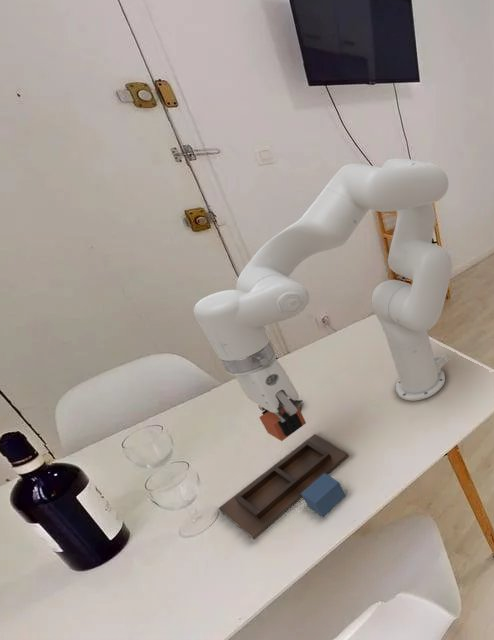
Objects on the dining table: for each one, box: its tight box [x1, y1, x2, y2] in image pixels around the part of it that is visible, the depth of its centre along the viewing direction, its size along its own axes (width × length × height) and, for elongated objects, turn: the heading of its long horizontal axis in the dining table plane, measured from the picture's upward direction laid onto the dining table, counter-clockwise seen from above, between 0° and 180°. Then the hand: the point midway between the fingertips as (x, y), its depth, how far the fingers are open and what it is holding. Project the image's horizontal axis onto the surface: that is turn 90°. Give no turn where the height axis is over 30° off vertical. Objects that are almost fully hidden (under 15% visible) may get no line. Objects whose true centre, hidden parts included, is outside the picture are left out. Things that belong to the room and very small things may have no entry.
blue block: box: [301, 473, 346, 518], centre depth 81 cm, size 5×5×4 cm
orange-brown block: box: [259, 404, 307, 442], centre depth 82 cm, size 5×5×4 cm
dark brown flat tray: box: [218, 433, 350, 540], centre depth 86 cm, size 20×12×2 cm, turn 152°
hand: (285, 425), depth 82 cm, fingers closed on orange-brown block, 4 cm apart
